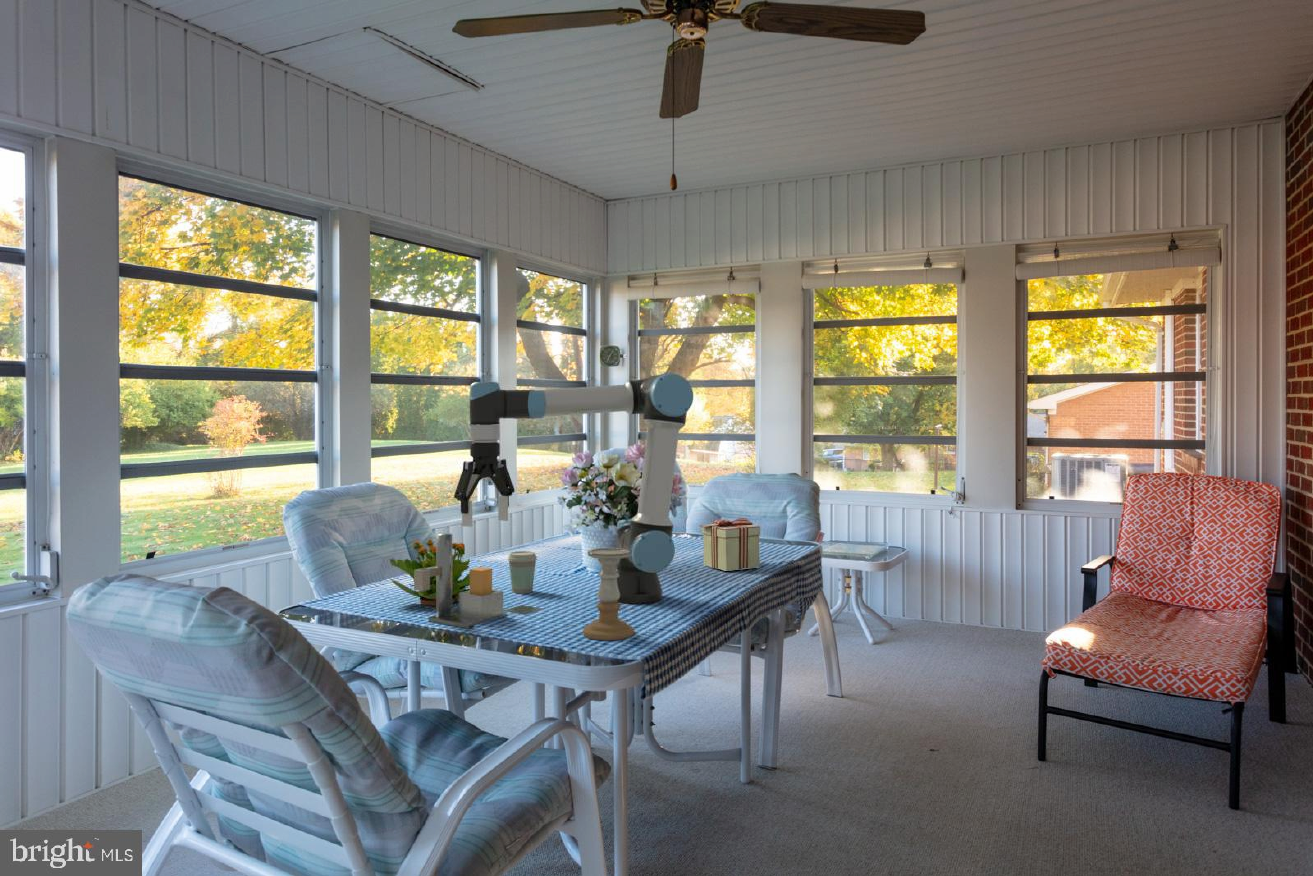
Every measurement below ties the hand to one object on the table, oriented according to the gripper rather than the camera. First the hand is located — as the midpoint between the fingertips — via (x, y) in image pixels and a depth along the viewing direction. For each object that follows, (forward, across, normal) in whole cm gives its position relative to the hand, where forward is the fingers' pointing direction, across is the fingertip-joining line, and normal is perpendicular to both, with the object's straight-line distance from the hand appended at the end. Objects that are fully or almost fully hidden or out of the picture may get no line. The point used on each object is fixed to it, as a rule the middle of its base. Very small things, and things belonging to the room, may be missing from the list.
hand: (485, 523), depth 216 cm
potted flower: (+25, -5, -24) cm, 35 cm away
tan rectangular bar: (+24, +2, 0) cm, 24 cm away
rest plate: (+25, -10, +4) cm, 27 cm away
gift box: (+26, -100, +21) cm, 106 cm away
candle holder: (+25, -3, +36) cm, 44 cm away
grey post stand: (+24, +7, -3) cm, 26 cm away
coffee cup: (+25, -28, -12) cm, 39 cm away
